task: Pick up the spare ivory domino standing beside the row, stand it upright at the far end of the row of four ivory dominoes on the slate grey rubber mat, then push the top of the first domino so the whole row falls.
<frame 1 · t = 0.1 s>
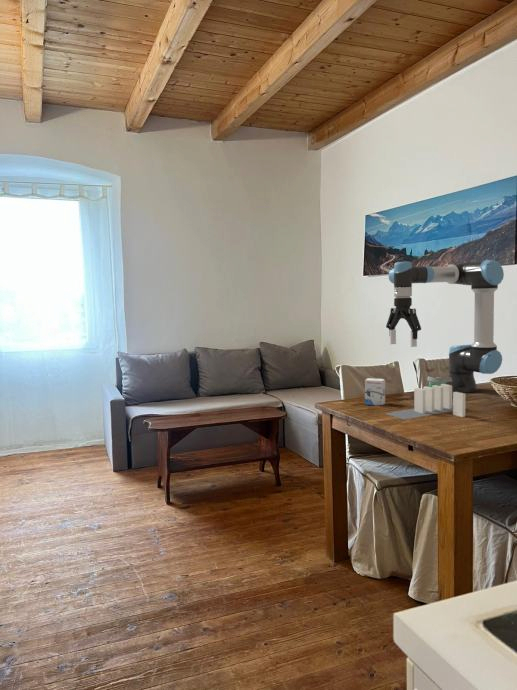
hand: (403, 345, 232), 28 cm above the table, tool pointing down, fingers open, 13 cm apart
food container: (437, 397, 253), on the table
domino 1: (446, 407, 229), point 1 cm above the table, touching mat
mat: (425, 412, 224), on the table
domino 4: (419, 412, 223), point 1 cm above the table, touching mat
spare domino: (459, 416, 215), on the table
domino 2: (437, 408, 227), point 1 cm above the table, touching mat
ink box: (375, 404, 242), on the table
domino 3: (428, 410, 225), point 1 cm above the table, touching mat
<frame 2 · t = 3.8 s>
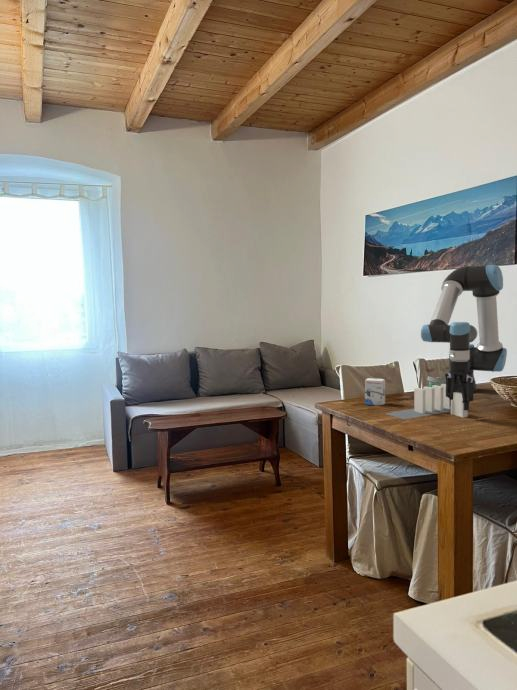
hand: (459, 416, 215), 0 cm above the table, tool pointing down, fingers closed on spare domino, 5 cm apart
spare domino: (459, 416, 215), on the table, touching gripper
everything else where it was.
when the fingers open (2 cm above the table, at t = 10.8 s): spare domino stays where it is, resting on mat.
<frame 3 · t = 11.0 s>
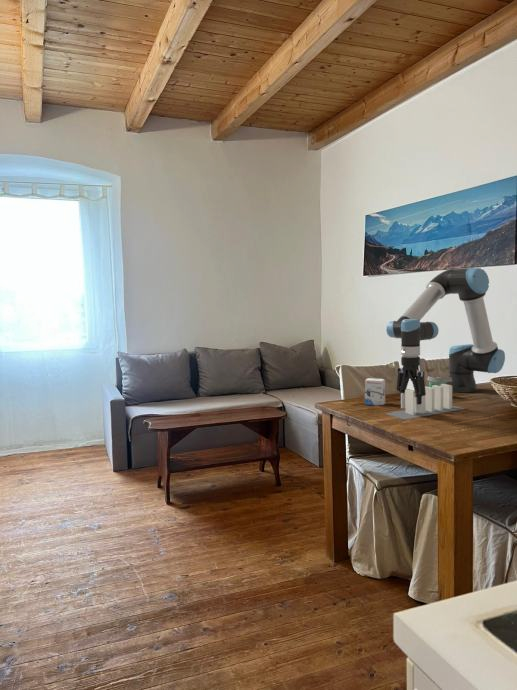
hand: (410, 409, 220), 2 cm above the table, tool pointing down, fingers open, 8 cm apart
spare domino: (410, 413, 221), point 1 cm above the table, touching mat
everything else where it was.
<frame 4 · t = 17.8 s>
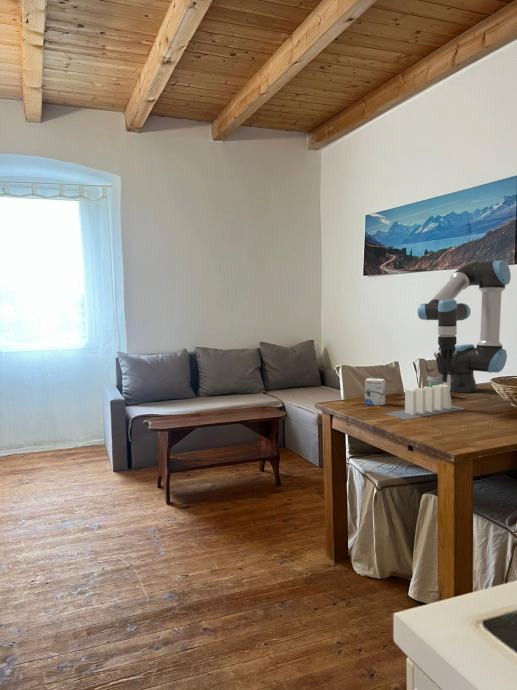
hand: (446, 389, 228), 9 cm above the table, tool pointing down, fingers closed
domino 1: (446, 407, 229), point 1 cm above the table, tilted 11°, touching mat
everything else where it was.
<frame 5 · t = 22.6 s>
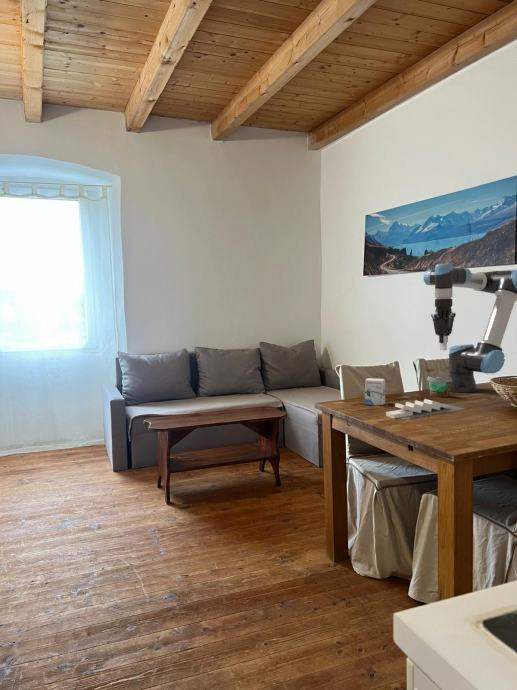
hand: (443, 349, 239), 24 cm above the table, tool pointing down, fingers closed
domino 1: (444, 406, 228), point 1 cm above the table, tilted 71°, touching domino 2, mat
domino 4: (416, 410, 222), point 2 cm above the table, tilted 71°, touching domino 3, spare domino
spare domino: (408, 412, 220), point 1 cm above the table, tilted 90°, touching domino 4, mat
domino 2: (435, 407, 226), point 1 cm above the table, tilted 71°, touching domino 1, domino 3
domino 3: (427, 409, 224), point 1 cm above the table, tilted 71°, touching domino 2, domino 4, mat
everything else where it was.
at the end: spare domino tilted 90°; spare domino inside the target area (0.1 cm from its centre), point 1.4 cm above the table; domino 4 tilted 71° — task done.
